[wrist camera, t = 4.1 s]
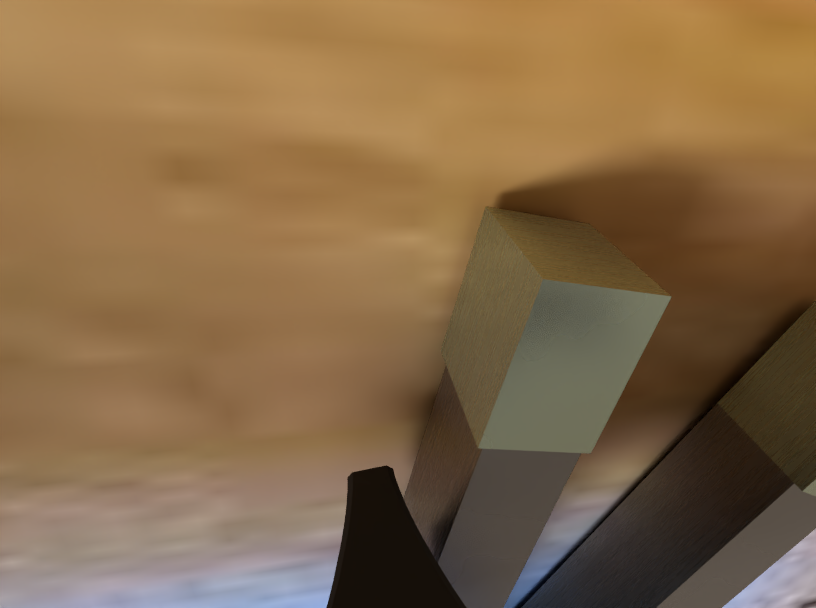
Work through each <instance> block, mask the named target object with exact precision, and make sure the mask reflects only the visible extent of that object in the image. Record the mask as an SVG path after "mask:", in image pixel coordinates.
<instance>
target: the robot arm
mask: <svg viewBox="0 0 816 608" xmlns="http://www.w3.org/2000/svg"><path fill="white" fill-rule="evenodd" d="M327 608H466V606H465V605H464V603H463V602H462V600H461V599H460V597H459V596H458V594H457V593H456V591H455V590H454V588H453V587H452V585H451V584H450V582H449V581H448V579H447V577H446V576H445V574H444V573H443V571H442V570H441V568H440V566H439V565H438V563H437V561H436V560H435V558H434V556H433V554H432V553H431V551H430V549H429V548H428V546H427V544H426V542H425V541H424V539H423V537H422V535H421V533H420V532H419V530H418V528H417V526H416V524H415V522H414V520H413V518H412V516H411V514H410V512H409V510H408V508H407V506H406V503H405V501H404V499H403V497H402V494H401V492H400V489H399V487H398V484H397V481H396V478H395V475H394V471H393V469H392V468H390V467H389V466H382V467H377V468H372V469H367V470H362V471H357V472H353V473H352V474H351V475H350V476H349V477H348V493H347V506H346V515H345V523H344V529H343V536H342V542H341V547H340V552H339V556H338V561H337V566H336V571H335V576H334V581H333V585H332V589H331V593H330V597H329V601H328V604H327Z"/></svg>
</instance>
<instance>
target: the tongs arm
mask: <svg viewBox="0 0 816 608" xmlns="http://www.w3.org/2000/svg"><path fill="white" fill-rule="evenodd" d="M671 297H672V296H671V295H669V294H668V293H667V292H666V291H665V290H664V289H663V288H661V287H660V286H659V285H658V284H657V283H656V282H655V281H654V280H652V279H651V278H650V277H649V276H648V275H647V274H646V273H645V272H643V271H642V270H641V269H640V268H639V267H638V266H637V265H635V264H634V263H633V262H632V261H631V260H630V259H629V258H628V257H626V256H625V255H624V254H623V253H622V252H621V251H620V250H619V249H617V248H616V247H615V246H614V245H613V244H612V243H611V242H609V241H608V240H607V239H606V238H605V237H604V236H603V235H602V234H600V233H599V232H598V231H597V230H596V229H595V228H594V227H593V226H591V225H590V224H588V223H582V222H576V221H570V220H564V219H558V218H552V217H546V216H540V215H534V214H528V213H522V212H516V211H510V210H504V209H498V208H492V207H485V211H484V214H483V217H482V220H481V223H480V227H479V230H478V233H477V236H476V240H475V243H474V246H473V249H472V252H471V256H470V259H469V262H468V265H467V269H466V272H465V275H464V278H463V281H462V285H461V288H460V291H459V294H458V297H457V301H456V304H455V307H454V310H453V314H452V317H451V320H450V323H449V326H448V330H447V333H446V336H445V339H444V343H443V346H442V349H441V353H442V356H443V358H444V361H445V364H446V368H445V371H444V374H443V377H442V380H441V383H440V386H439V390H438V393H437V396H436V399H435V402H434V405H433V408H432V411H431V414H430V418H429V421H428V424H427V427H426V430H425V433H424V436H423V439H422V442H421V446H420V449H419V452H418V455H417V458H416V461H415V464H414V467H413V471H412V474H411V477H410V480H409V483H408V486H407V489H406V492H405V495H404V501H405V503H406V506H407V508H408V510H409V512H410V514H411V516H412V518H413V520H414V522H415V524H416V526H417V528H418V530H419V532H420V533H421V535H422V537H423V539H424V541H425V542H426V544H427V546H428V548H429V549H430V551H431V553H432V554H433V556H434V558H435V560H436V561H437V563H438V565H439V566H440V568H441V570H442V571H443V573H444V574H445V576H446V577H447V579H448V581H449V582H450V584H451V585H452V587H453V588H454V590H455V591H456V593H457V594H458V596H459V597H460V599H461V600H462V602H463V603H464V605H465V606H466V608H503V607H504V605H505V603H506V601H507V599H508V597H509V595H510V593H511V591H512V589H513V587H514V585H515V583H516V581H517V579H518V577H519V575H520V573H521V572H522V570H523V568H524V566H525V564H526V562H527V560H528V558H529V556H530V554H531V552H532V550H533V548H534V546H535V544H536V542H537V540H538V538H539V536H540V534H541V532H542V530H543V528H544V526H545V524H546V522H547V520H548V518H549V516H550V514H551V512H552V510H553V508H554V506H555V504H556V502H557V500H558V498H559V496H560V494H561V492H562V490H563V488H564V486H565V484H566V482H567V480H568V478H569V476H570V474H571V472H572V470H573V468H574V467H575V465H576V463H577V461H578V459H579V457H580V455H581V453H589V454H591V452H592V450H593V448H594V446H595V444H596V442H597V440H598V439H599V437H600V435H601V433H602V431H603V429H604V427H605V425H606V423H607V421H608V419H609V417H610V415H611V413H612V411H613V409H614V407H615V406H616V404H617V402H618V400H619V398H620V396H621V394H622V392H623V390H624V388H625V386H626V384H627V382H628V380H629V378H630V376H631V375H632V373H633V371H634V369H635V367H636V365H637V363H638V361H639V359H640V357H641V355H642V353H643V351H644V349H645V347H646V345H647V344H648V342H649V340H650V338H651V336H652V334H653V332H654V330H655V328H656V326H657V324H658V322H659V320H660V318H661V316H662V314H663V312H664V311H665V309H666V307H667V305H668V303H669V301H670V299H671Z"/></svg>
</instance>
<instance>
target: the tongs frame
mask: <svg viewBox="0 0 816 608" xmlns="http://www.w3.org/2000/svg"><path fill="white" fill-rule="evenodd" d="M815 528H816V301H815V302H814V303H813V304H812V305H811V306H810V307H809V308H808V309H807V310H806V311H805V312H804V313H803V314H802V315H801V316H800V317H799V318H798V319H797V320H796V321H795V323H794V324H793V325H792V326H791V327H790V328H789V329H788V330H787V331H786V332H785V333H784V334H783V335H782V336H781V337H780V338H779V339H778V340H777V341H776V342H775V343H774V344H773V345H772V347H771V348H770V349H769V350H768V351H767V352H766V353H765V354H764V355H763V356H762V357H761V358H760V359H759V360H758V361H757V362H756V363H755V364H754V365H753V366H752V367H751V368H750V369H749V371H748V372H747V373H746V374H745V375H744V376H743V377H742V378H741V379H740V380H739V381H738V382H737V383H736V384H735V385H734V386H733V387H732V388H731V389H730V390H729V391H728V392H727V393H726V395H725V396H724V397H723V398H722V399H721V400H720V401H719V402H718V403H717V404H716V405H715V406H714V407H713V408H712V409H711V410H710V411H709V412H708V413H707V414H706V415H705V416H704V417H703V419H702V420H701V421H700V422H699V423H698V424H697V425H696V426H695V427H694V428H693V429H692V430H691V431H690V432H689V433H688V434H687V435H686V436H685V437H684V438H683V439H682V440H681V441H680V442H679V444H678V445H677V446H676V447H675V448H674V449H673V450H672V451H671V452H670V453H669V454H668V455H667V456H666V457H665V458H664V459H663V460H662V461H661V462H660V463H659V464H658V465H657V466H656V468H655V469H654V470H653V471H652V472H651V473H650V474H649V475H648V476H647V477H646V478H645V479H644V480H643V481H642V482H641V483H640V484H639V485H638V486H637V487H636V488H635V489H634V490H633V492H632V493H631V494H630V495H629V496H628V497H627V498H626V499H625V500H624V501H623V502H622V503H621V504H620V505H619V506H618V507H617V508H616V509H615V510H614V511H613V512H612V513H611V514H610V516H609V517H608V518H607V519H606V520H605V521H604V522H603V523H602V524H601V525H600V526H599V527H598V528H597V529H596V530H595V531H594V532H593V533H592V534H591V535H590V536H589V537H588V538H587V539H586V541H585V542H584V543H583V544H582V545H581V546H580V547H579V548H578V549H577V550H576V551H575V552H574V553H573V554H572V555H571V556H570V557H569V558H568V559H567V560H566V561H565V562H564V563H563V565H562V566H561V567H560V568H559V569H558V570H557V571H556V572H555V573H554V574H553V575H552V576H551V577H550V578H549V579H548V580H547V581H546V582H545V583H544V584H543V585H542V586H541V587H540V589H539V590H538V591H537V592H536V593H535V594H534V595H533V596H532V597H531V598H530V599H529V600H528V601H527V602H526V603H525V604H524V605H523V606H522V607H521V608H722V607H723V606H724V605H725V604H727V603H728V602H729V601H730V600H731V599H733V598H734V597H735V596H736V595H737V594H738V593H740V592H741V591H742V590H743V589H744V588H746V587H747V586H748V585H749V584H750V583H751V582H753V581H754V580H755V579H756V578H757V577H759V576H760V575H761V574H762V573H763V572H764V571H766V570H767V569H768V568H769V567H770V566H772V565H773V564H774V563H775V562H776V561H778V560H779V559H780V558H781V557H782V556H783V555H785V554H786V553H787V552H788V551H789V550H791V549H792V548H793V547H794V546H795V545H796V544H798V543H799V542H800V541H801V540H802V539H804V538H805V537H806V536H807V535H808V534H809V533H811V532H812V531H813V530H814V529H815Z"/></svg>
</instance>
